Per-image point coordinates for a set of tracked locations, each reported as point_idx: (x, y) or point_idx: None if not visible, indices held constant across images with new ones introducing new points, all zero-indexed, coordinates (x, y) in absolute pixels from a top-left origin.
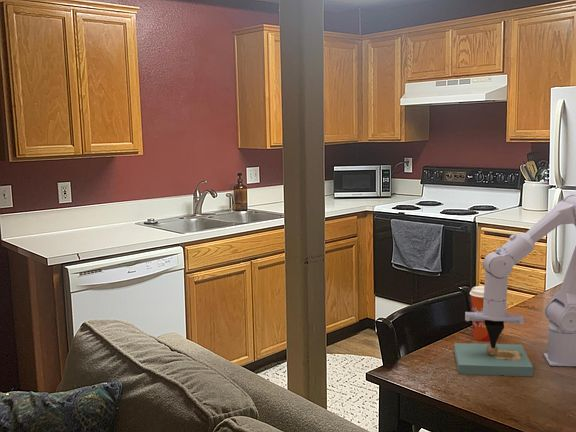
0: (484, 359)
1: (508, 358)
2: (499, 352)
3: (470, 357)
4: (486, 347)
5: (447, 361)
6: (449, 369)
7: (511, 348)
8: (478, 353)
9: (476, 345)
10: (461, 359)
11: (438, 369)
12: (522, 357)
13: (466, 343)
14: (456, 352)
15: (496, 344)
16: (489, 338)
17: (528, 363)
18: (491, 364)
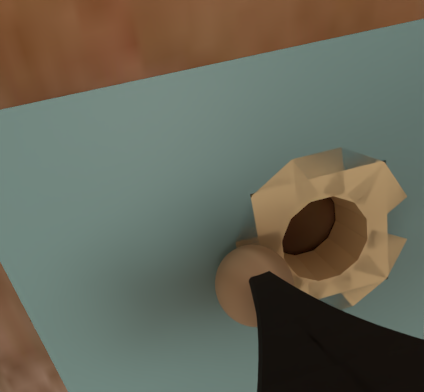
0: (210, 344)
1: (330, 290)
2: (285, 219)
3: (132, 345)
4: (220, 303)
5: (5, 286)
6: (53, 368)
7: (358, 122)
8: (165, 275)
9: (123, 130)
10: (90, 387)
11: (3, 386)
12: (399, 251)
13: (34, 103)
14: (25, 306)
15: (263, 62)
16: (256, 311)
17: (413, 315)
18: (249, 385)
